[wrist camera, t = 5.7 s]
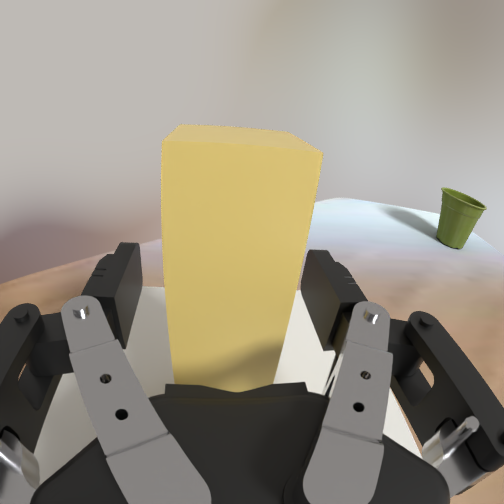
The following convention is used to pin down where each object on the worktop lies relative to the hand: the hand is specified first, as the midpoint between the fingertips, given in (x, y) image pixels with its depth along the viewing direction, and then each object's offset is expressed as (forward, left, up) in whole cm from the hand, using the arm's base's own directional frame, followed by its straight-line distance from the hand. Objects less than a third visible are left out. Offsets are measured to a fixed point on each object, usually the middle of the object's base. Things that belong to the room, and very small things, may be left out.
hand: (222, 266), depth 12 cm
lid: (0, -2, -8) cm, 8 cm away
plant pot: (+53, +37, -16) cm, 66 cm away
